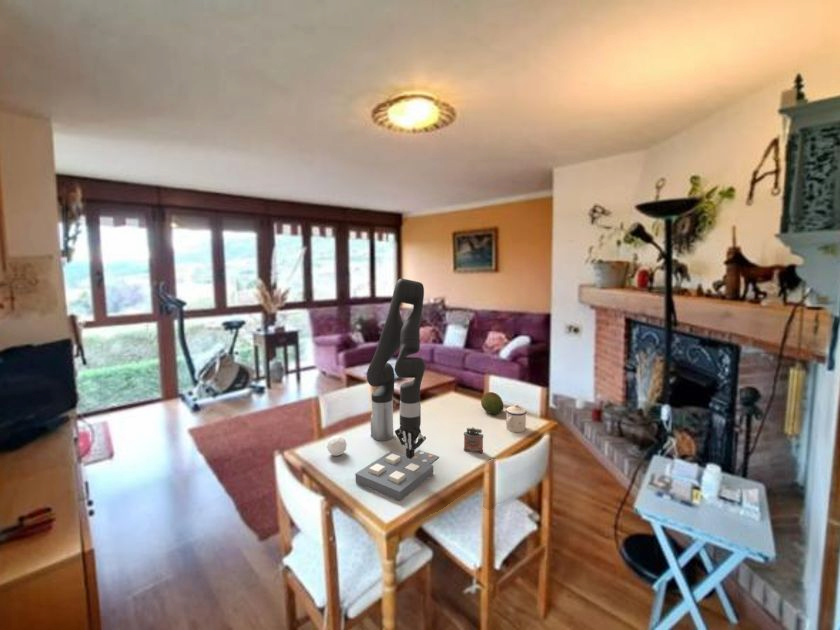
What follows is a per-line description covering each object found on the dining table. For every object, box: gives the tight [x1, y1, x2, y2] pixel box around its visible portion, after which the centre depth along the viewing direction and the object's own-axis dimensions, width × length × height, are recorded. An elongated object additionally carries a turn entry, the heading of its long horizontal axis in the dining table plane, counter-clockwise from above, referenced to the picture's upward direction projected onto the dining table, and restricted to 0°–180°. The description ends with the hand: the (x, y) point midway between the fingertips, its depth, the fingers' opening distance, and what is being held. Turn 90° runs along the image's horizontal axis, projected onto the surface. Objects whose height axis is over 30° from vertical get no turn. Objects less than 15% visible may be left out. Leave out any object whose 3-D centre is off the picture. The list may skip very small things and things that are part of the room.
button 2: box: [405, 463, 420, 472], centre depth 146 cm, size 4×4×3 cm
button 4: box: [389, 471, 405, 484], centre depth 139 cm, size 4×4×3 cm
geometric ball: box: [326, 435, 348, 457], centre depth 163 cm, size 8×8×8 cm
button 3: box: [369, 464, 385, 476], centre depth 144 cm, size 4×4×3 cm
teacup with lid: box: [505, 403, 527, 433], centre depth 184 cm, size 12×9×12 cm
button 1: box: [386, 454, 401, 465], centre depth 151 cm, size 4×4×3 cm
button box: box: [354, 450, 434, 502], centre depth 145 cm, size 20×20×4 cm
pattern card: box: [413, 449, 440, 465], centre depth 160 cm, size 10×8×1 cm
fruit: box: [480, 391, 504, 415], centre depth 205 cm, size 12×13×10 cm
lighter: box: [463, 426, 484, 455], centre depth 164 cm, size 8×3×10 cm, turn 69°
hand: (410, 457), depth 145 cm, fingers closed
